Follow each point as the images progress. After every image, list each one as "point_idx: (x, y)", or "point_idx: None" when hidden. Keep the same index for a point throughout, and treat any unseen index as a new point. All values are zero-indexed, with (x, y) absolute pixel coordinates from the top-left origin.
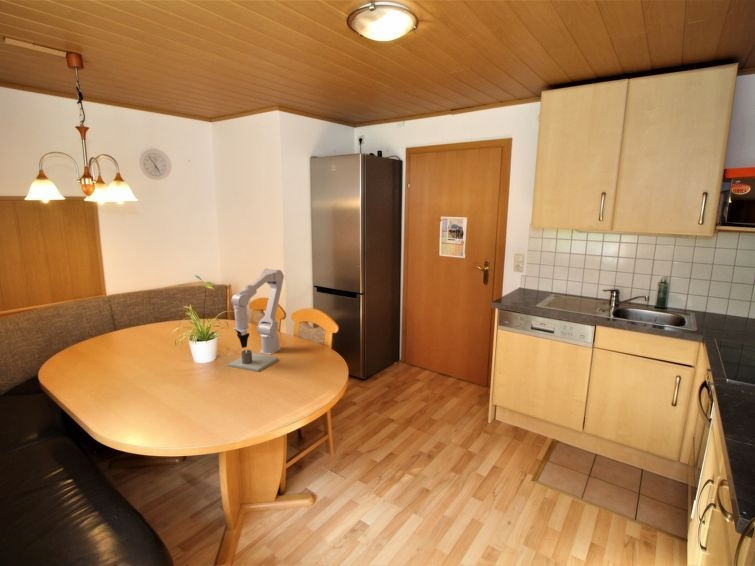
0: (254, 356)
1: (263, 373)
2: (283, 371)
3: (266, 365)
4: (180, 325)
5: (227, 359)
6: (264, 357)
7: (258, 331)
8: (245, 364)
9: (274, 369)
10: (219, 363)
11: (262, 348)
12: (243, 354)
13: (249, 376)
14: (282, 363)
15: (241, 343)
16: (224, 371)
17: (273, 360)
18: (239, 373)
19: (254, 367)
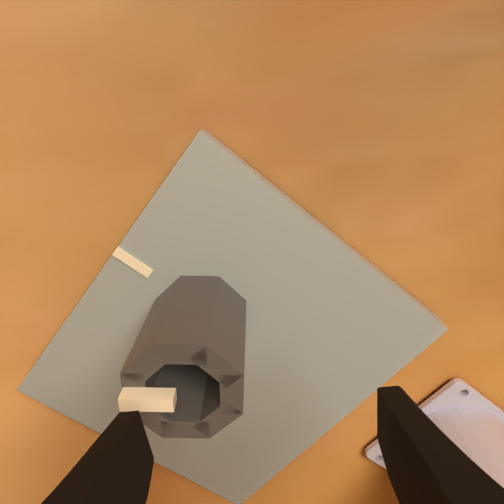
0: (327, 366)
1: (7, 404)
2: (34, 500)
3: None
4: None
5: (426, 104)
6: (272, 432)
7: None
8: (147, 301)
9: (74, 461)
10: (335, 14)
11: (453, 440)
12: (135, 352)
13: None
14: (172, 501)
15: (66, 486)
16: (81, 99)
17: (190, 479)
18: (18, 244)
19: (64, 368)
